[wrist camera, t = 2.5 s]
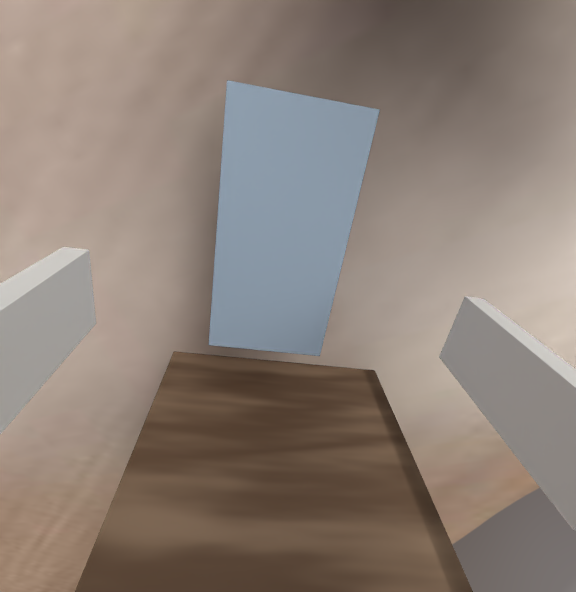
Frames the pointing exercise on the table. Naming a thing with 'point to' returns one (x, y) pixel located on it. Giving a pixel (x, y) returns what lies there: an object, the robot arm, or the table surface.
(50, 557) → the table surface
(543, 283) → the table surface
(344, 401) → the bookcase frame
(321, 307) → the shelf board
